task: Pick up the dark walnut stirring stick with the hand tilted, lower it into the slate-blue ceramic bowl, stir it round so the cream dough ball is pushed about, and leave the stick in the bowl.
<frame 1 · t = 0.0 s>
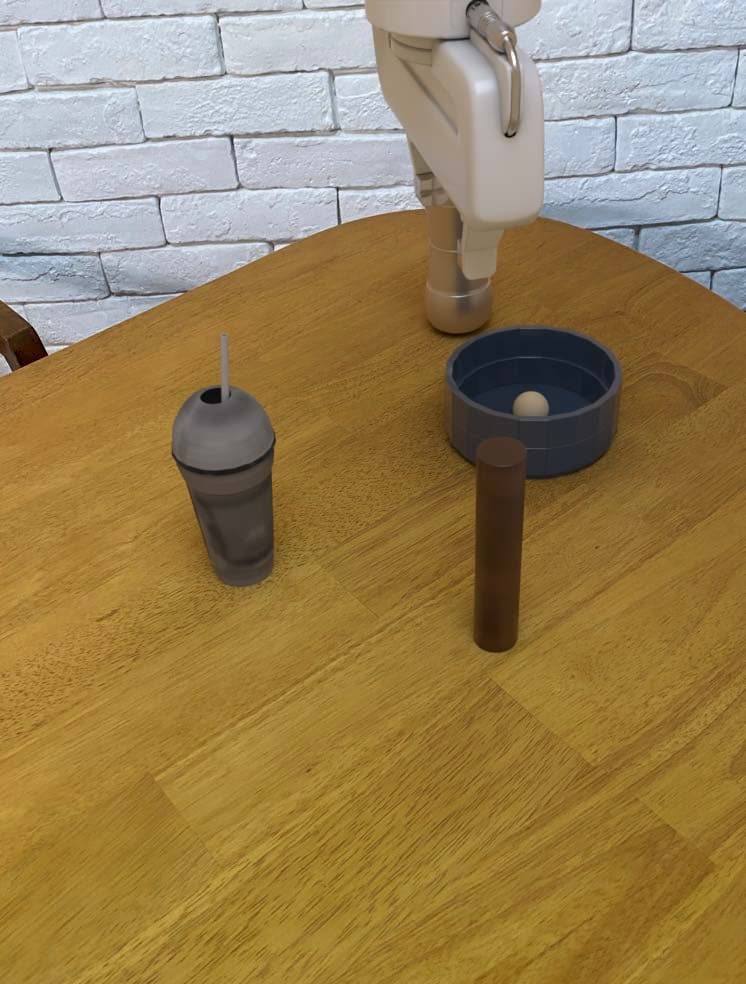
hand: (452, 235, 65), 27 cm above the table, tool pointing down, fingers open, 8 cm apart
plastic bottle: (458, 326, 110), on the table
stick: (495, 636, 78), on the table
beverage cup: (244, 567, 85), on the table
dough ball: (530, 409, 95), point 2 cm above the table, touching bowl
bowl: (529, 429, 96), on the table
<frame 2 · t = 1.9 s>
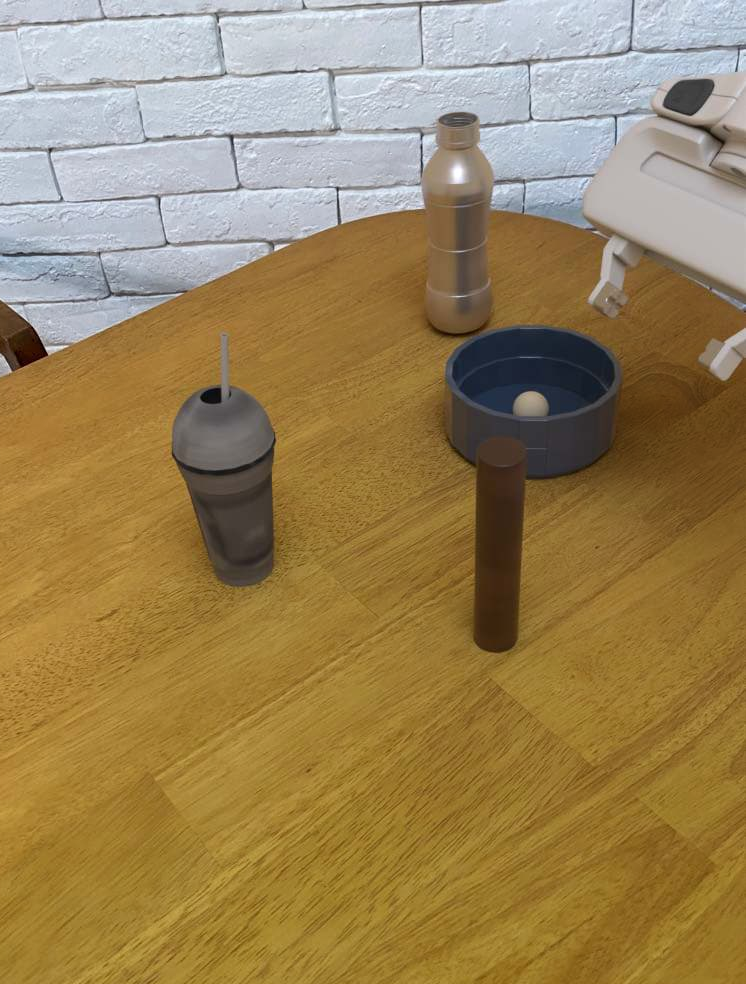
hand: (652, 341, 70), 19 cm above the table, tool tilted 45°, fingers open, 8 cm apart
nothing on the table moved.
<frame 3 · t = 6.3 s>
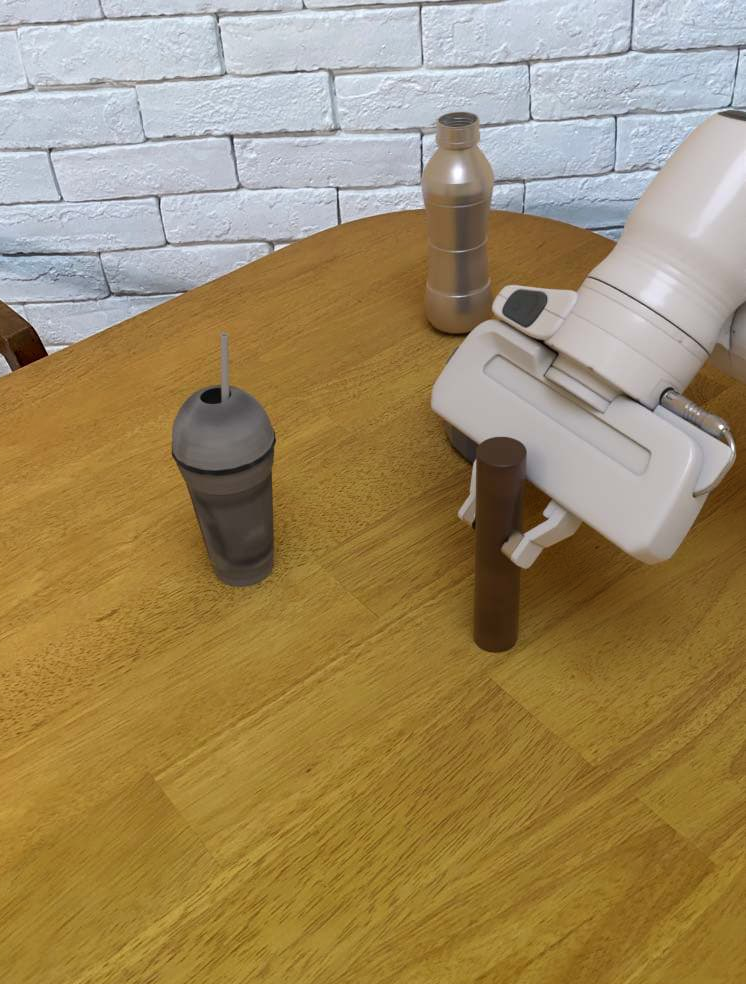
hand: (490, 542, 72), 9 cm above the table, tool tilted 45°, fingers closed on stick, 3 cm apart
stick: (495, 636, 78), on the table, touching gripper
everything else where it was.
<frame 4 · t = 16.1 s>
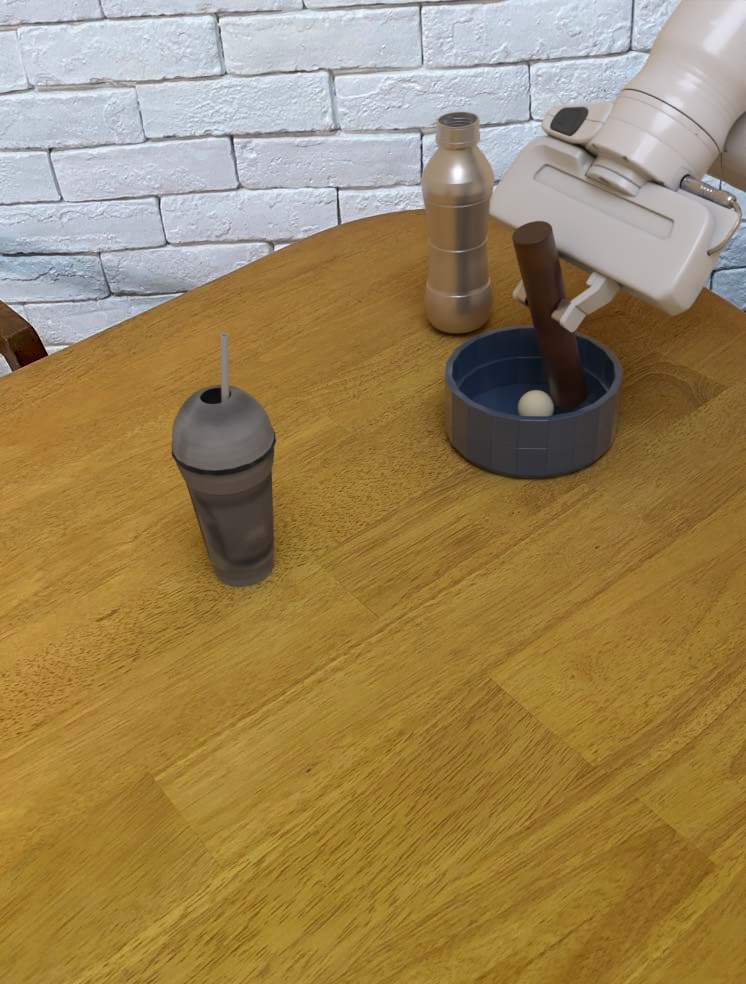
hand: (540, 314, 88), 11 cm above the table, tool tilted 45°, fingers closed on stick, 3 cm apart
stick: (570, 396, 94), point 3 cm above the table, tilted 15°, touching dough ball, gripper
dough ball: (535, 408, 95), point 2 cm above the table, tilted 18°, touching bowl, stick
everything else where it was.
when the fingers open (11 cm above the table, at t = 21.2 s): stick moves 1 cm and tips over, resting on bowl.
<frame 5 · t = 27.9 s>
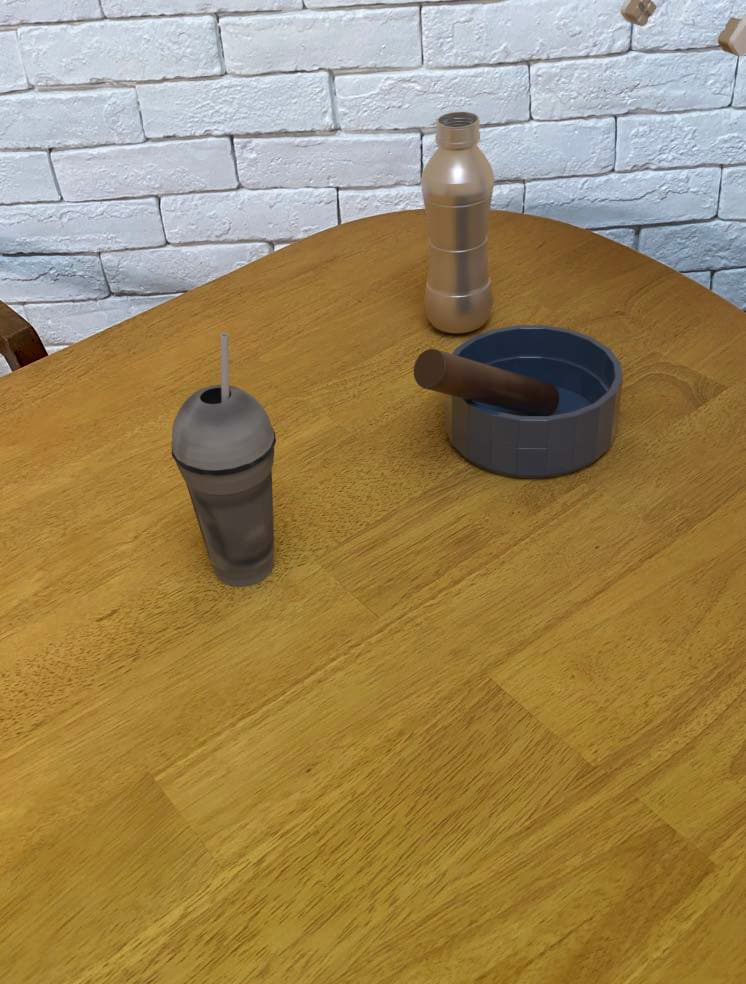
hand: (677, 34, 81), 29 cm above the table, tool tilted 45°, fingers open, 8 cm apart
stick: (544, 400, 96), point 2 cm above the table, tilted 55°, touching bowl
dough ball: (571, 433, 92), point 2 cm above the table, tilted 134°, touching bowl
everything else where it was.
at the end: dough ball moved 4.6 cm from its start; stick inside the target area in the bowl (2.1 cm from its centre), point 1.8 cm above the bowl's base; the gripper is holding nothing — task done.
